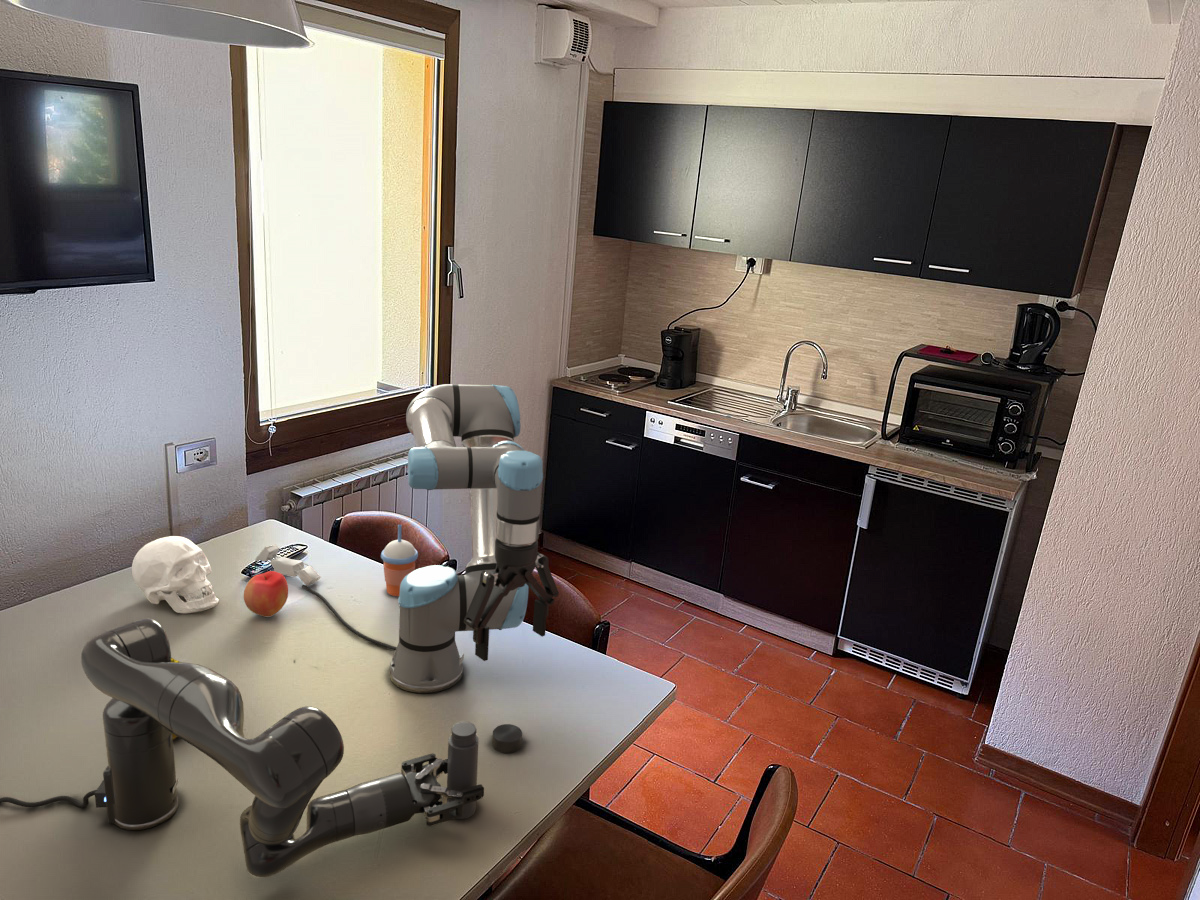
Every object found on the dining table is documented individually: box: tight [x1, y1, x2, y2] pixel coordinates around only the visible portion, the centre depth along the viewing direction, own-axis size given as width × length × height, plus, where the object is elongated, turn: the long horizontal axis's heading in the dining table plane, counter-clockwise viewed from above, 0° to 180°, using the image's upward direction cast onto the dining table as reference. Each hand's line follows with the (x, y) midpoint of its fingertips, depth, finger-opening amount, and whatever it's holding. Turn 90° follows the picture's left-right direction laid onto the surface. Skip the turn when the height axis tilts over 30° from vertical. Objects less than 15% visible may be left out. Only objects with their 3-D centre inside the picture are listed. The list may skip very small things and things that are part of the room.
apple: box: [243, 570, 289, 618], centre depth 199 cm, size 10×10×10 cm
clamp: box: [254, 544, 322, 587], centre depth 219 cm, size 20×4×7 cm, turn 62°
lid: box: [491, 723, 523, 754], centre depth 162 cm, size 6×6×2 cm
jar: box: [446, 720, 479, 820], centre depth 142 cm, size 5×5×16 cm
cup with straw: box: [380, 524, 419, 597], centre depth 214 cm, size 9×9×18 cm
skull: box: [131, 535, 220, 615], centre depth 201 cm, size 13×22×16 cm, turn 73°
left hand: (473, 775), depth 144 cm, fingers open, 7 cm apart
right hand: (510, 645), depth 156 cm, fingers open, 13 cm apart
